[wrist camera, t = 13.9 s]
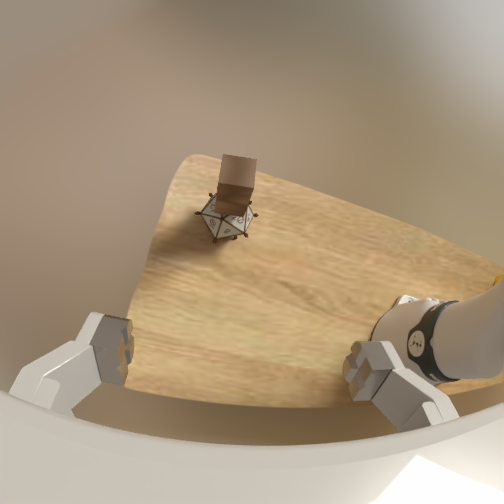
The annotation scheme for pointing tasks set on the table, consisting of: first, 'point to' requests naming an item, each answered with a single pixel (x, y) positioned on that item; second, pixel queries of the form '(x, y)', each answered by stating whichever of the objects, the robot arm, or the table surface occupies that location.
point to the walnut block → (235, 185)
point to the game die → (225, 221)
